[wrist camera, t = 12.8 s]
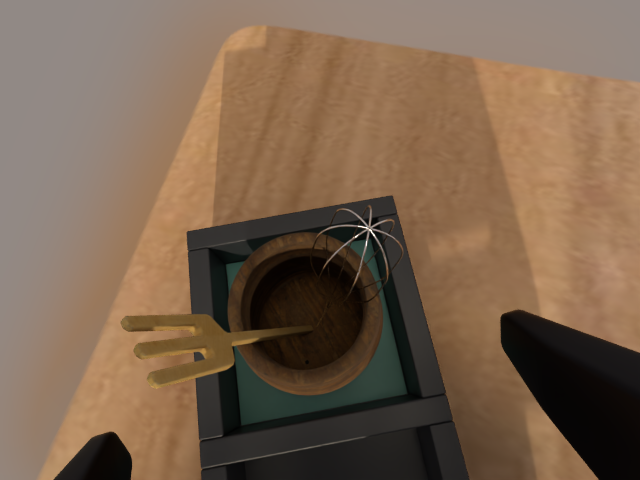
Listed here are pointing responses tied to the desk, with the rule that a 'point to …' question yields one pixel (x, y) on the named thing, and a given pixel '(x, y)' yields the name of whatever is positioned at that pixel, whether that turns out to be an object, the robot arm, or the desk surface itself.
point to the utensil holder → (284, 317)
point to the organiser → (337, 406)
